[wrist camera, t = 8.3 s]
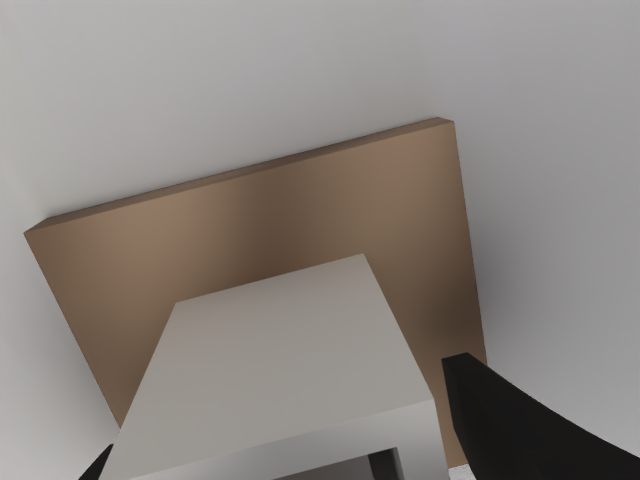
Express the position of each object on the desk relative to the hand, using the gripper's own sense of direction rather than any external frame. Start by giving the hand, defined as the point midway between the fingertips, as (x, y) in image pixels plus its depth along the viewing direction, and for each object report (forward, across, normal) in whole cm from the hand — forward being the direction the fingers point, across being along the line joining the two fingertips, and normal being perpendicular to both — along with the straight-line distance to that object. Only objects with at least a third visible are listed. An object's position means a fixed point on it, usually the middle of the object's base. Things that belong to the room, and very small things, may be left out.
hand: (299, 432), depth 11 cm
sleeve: (+3, 0, 0) cm, 3 cm away
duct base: (+4, 0, 0) cm, 4 cm away
